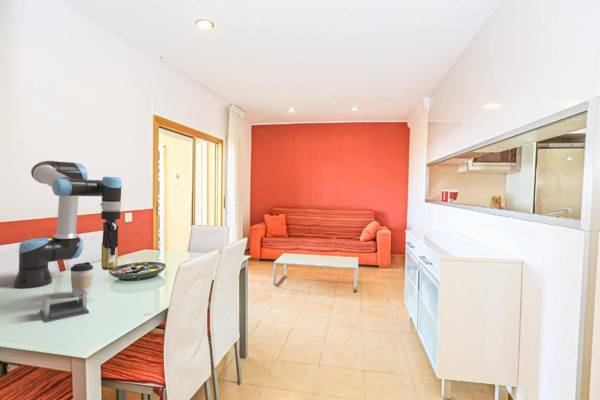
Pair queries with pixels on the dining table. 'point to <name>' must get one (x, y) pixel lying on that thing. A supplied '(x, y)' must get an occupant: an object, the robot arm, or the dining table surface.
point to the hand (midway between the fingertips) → (109, 260)
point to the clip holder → (64, 307)
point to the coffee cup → (81, 277)
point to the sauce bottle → (105, 252)
